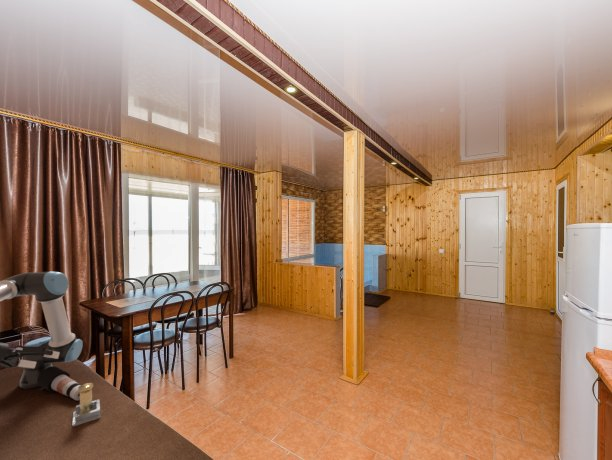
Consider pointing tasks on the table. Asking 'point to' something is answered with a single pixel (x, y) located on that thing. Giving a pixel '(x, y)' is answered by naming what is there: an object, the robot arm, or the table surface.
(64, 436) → the table surface
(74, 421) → the keeper bracket
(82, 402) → the end pin
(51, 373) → the cable
